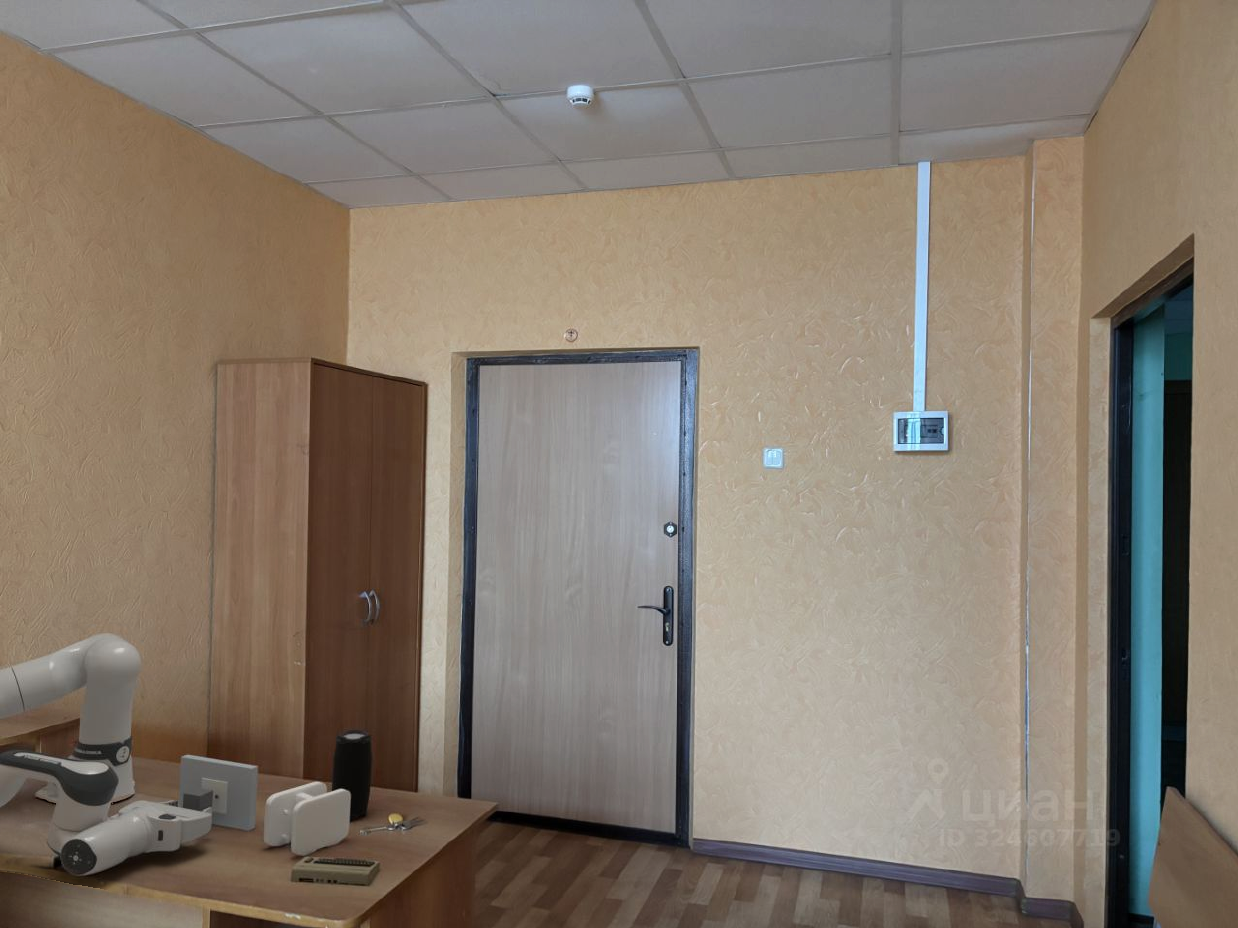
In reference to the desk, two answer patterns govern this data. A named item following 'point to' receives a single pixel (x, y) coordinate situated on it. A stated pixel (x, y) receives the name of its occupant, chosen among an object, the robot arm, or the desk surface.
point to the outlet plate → (223, 789)
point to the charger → (197, 799)
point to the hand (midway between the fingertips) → (192, 807)
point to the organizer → (307, 817)
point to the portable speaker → (353, 769)
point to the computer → (335, 871)
